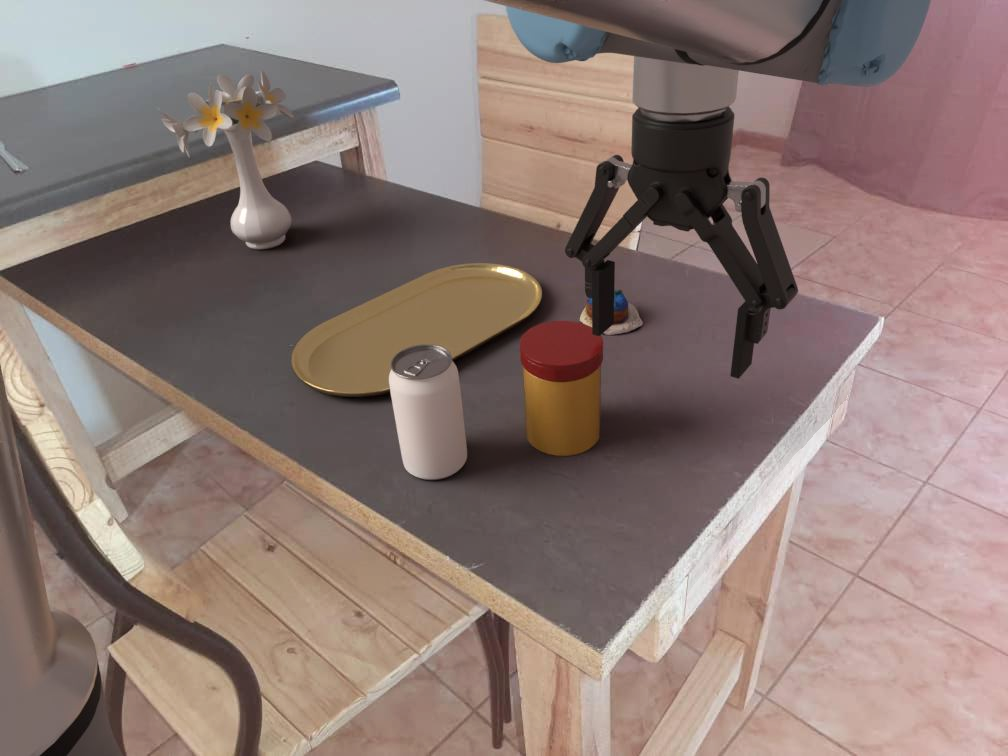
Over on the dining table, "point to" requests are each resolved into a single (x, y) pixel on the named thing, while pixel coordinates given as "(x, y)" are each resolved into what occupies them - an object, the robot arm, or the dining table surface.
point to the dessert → (616, 315)
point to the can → (428, 411)
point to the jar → (562, 413)
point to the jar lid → (561, 351)
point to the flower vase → (241, 151)
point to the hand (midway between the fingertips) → (668, 348)
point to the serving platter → (414, 325)
